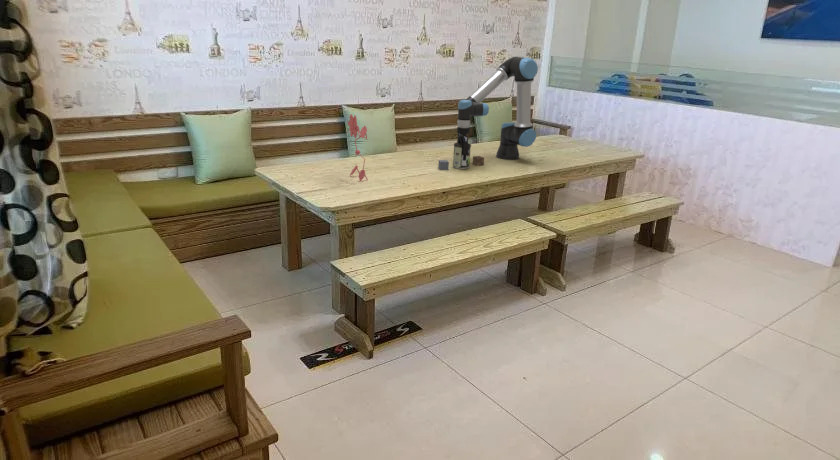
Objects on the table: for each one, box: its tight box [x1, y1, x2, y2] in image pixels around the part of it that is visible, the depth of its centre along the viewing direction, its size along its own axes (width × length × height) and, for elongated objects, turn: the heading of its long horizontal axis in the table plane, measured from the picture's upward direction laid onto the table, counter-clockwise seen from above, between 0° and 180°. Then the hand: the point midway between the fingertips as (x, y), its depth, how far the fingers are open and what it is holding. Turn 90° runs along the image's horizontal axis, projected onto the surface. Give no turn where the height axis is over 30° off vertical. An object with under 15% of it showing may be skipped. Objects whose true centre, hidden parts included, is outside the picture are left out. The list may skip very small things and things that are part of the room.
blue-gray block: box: [437, 159, 450, 171], centre depth 324 cm, size 5×5×5 cm
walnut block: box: [472, 155, 485, 167], centre depth 339 cm, size 5×5×5 cm
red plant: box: [341, 113, 369, 185], centre depth 289 cm, size 15×26×35 cm, turn 29°
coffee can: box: [452, 142, 472, 170], centre depth 329 cm, size 10×10×14 cm
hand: (461, 163), depth 331 cm, fingers closed on coffee can, 10 cm apart
